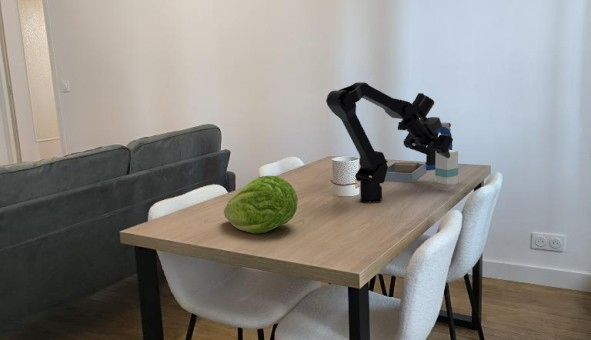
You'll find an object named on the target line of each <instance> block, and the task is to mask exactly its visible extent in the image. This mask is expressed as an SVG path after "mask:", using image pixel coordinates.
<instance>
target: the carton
mask: <svg viewBox="0 0 591 340" xmlns="http://www.w3.org/2000/svg"><path fill="white" fill-rule="evenodd" d="M436 152H437V151H436ZM449 153H450V158H446V157H444V156H442V155H440V154H438V153H436V159H435V169H434V170H435V171H434V173H435V174H434V175H435V176H434V177H435V179H434V180H435V183H437V184H443V185H450V186H455V185H458V184H459V183H458V182H459V181H458V179H459V178H458V177H459V176H458V175H459V150H453V149H452V150H449Z"/></svg>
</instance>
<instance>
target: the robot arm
mask: <svg viewBox="0 0 591 340" xmlns="http://www.w3.org/2000/svg"><path fill="white" fill-rule="evenodd" d="M362 99H364V100H365V101H367V102H370V103H372V104H374V105H376V106H377V107H379V108H382V109H383V110H384V112H385V113H386V114H387V115H388V116H390V117H391V118H392V119H399V120H400V121H399V122H398V125H397V130H398V131H406V132H407V135H406V136H405V138H404V140H403V146H404V147H405V148H406V149H410V150H412V151H415V152H419V153H420V154H424V155H430V151H429V150H428V148H427V145H428V144H433V149H434V150H435V151H437V152H436V153H438V154H440V155H442V156H444V157H446V158H450V153H449V148H448V147H449V146H450V144H451V143H452V144H453V140H454V139H453V136H452V137H451V136H450V135H444V134H441V133H440V134H438V138H436V137H433V136H435V134H436V132H435V131H436V130H437V129H438V128H440V127H442V124H441V123H442V122H441V119H440V117H438V116H437V117H436V116H431V117H427V116H428V114H429V113H430V111H431V110H432V108H433V107H434V106H435V100H434V99H433V98H431V97H429V96H427V95H425V94H424V93H423V92H418V93H417V94H416V96H415V98H414V100H413V102H412V103H411V102H410V101H408V100H403V99H399V98H394V97H393V96H390V95H387V94H386V93H384V92H382V91H381V90H379V89H377V88H375V87H373V86H371V85H370V84H368V83H367V82H360V81H359V82H354V83H352V84H351V85H347V86H345V87H343V88H340V89H338V90H336V89H335V90H332V91H330V92H329V93H328V94H327V96H326V100H325V102H326V105H327V107H328V108H329V109H330V111H331V112H332V113H333V114H334V115H335V116H337V117H338V118H339V120H341V122H342V124H343V126H344V128H345V130H346V132H347V133H348V135H349V137H350V139H351V141H352V143H353V145H354V147H355V149H356V151H357V153H358V155H359V165H360V167H359V169H358V170H357V172H356V173H355V174H354V178H355V181H357V182H360V201H359V202H360V203H381V200H383V186H382V184H384V183H385V182H386V181H385V177H386V173H387V169H388V166H389V164H388V160H387V159H386V157H385V154H384V152H382V151H377V150H375V149H374V148H373V145H372V144H371V143H372V142H371V141H370V139H369V137H368V135H367V134H366V131H365V130H364V129H365V128H363V126H362V124H361V121H360V120H359V117H358V115H357V103H358V102H359V101H360V100H362Z"/></svg>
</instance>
